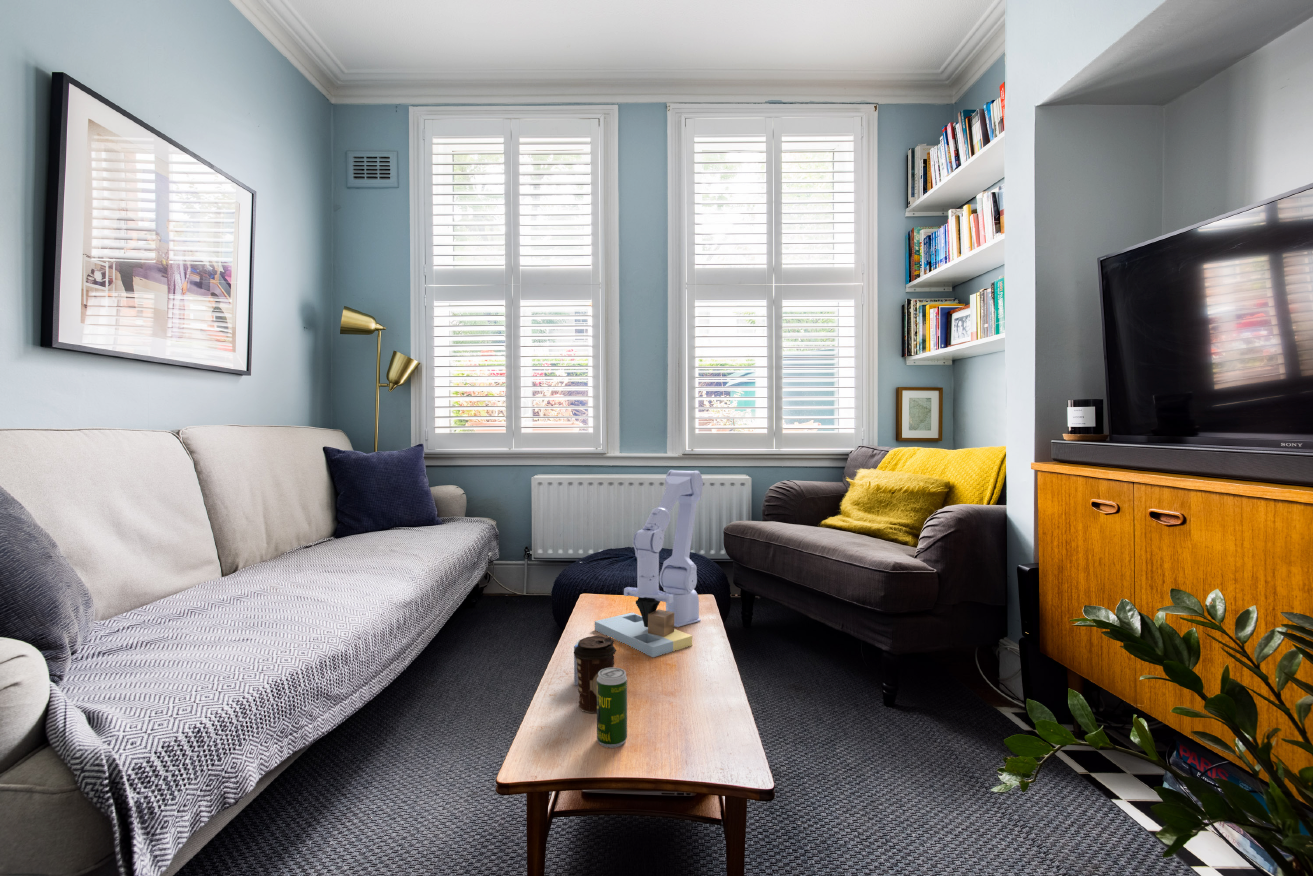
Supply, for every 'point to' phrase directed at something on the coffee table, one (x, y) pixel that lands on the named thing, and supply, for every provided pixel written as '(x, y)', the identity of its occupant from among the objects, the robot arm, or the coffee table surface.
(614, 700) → the green drink can
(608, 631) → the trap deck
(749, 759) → the coffee table surface
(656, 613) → the walnut cube
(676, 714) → the coffee table surface
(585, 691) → the coffee cup
